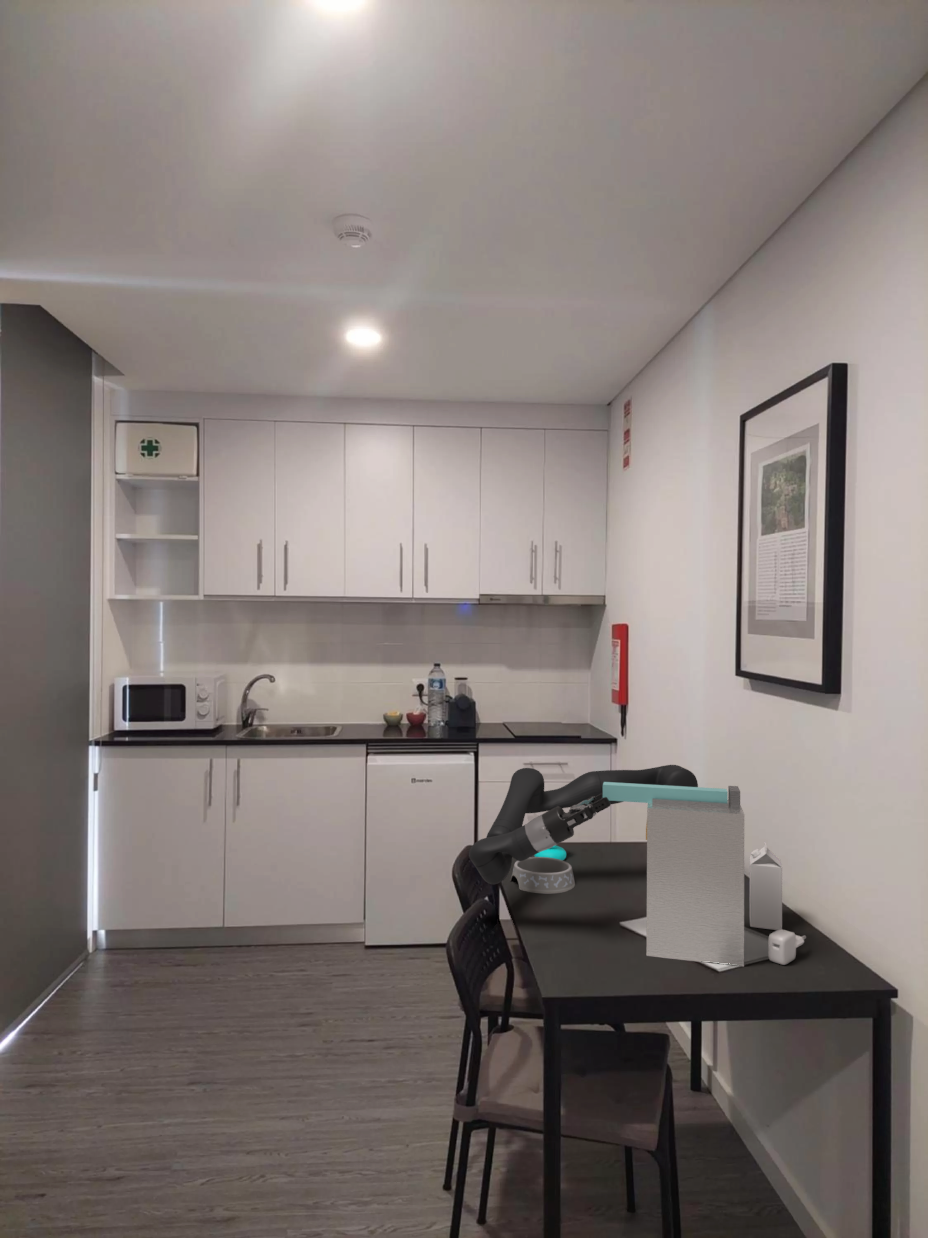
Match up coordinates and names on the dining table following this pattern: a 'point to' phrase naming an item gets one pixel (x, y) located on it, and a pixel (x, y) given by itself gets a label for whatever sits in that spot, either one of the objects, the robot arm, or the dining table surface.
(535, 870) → the dog bowl
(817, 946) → the dining table surface
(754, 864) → the milk carton
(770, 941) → the power adapter
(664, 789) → the teal tapered block
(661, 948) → the tall grey box
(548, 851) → the donuts
